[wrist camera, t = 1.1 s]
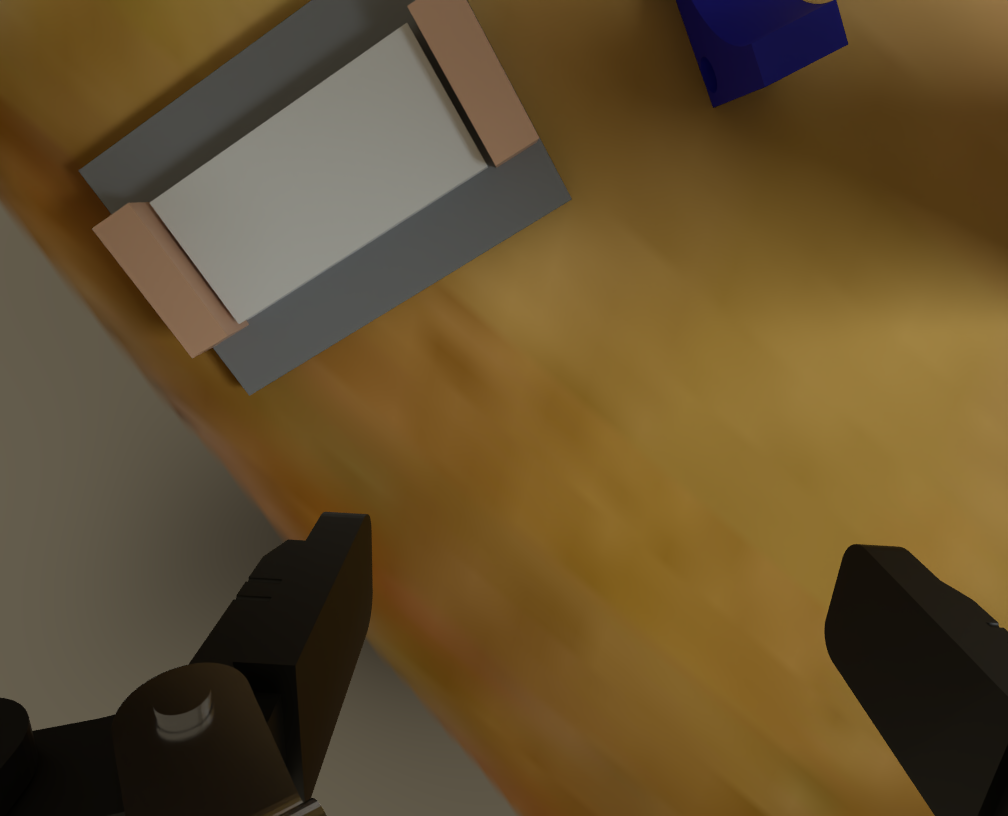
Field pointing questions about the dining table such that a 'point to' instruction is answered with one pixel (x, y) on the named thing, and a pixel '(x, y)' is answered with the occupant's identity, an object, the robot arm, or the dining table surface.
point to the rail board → (371, 267)
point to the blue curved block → (757, 41)
